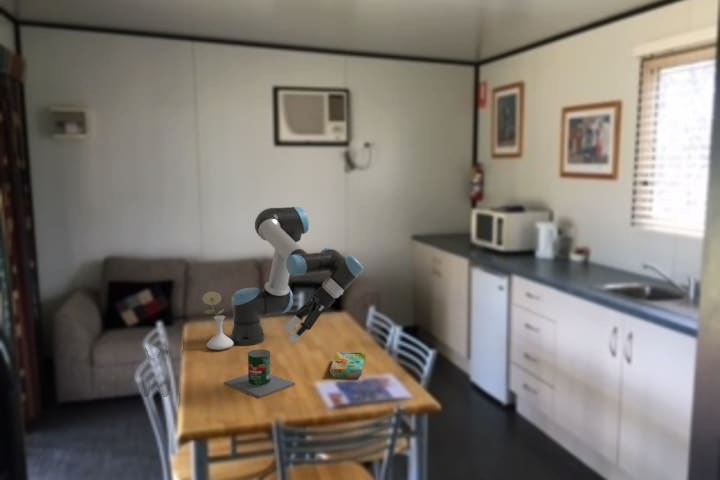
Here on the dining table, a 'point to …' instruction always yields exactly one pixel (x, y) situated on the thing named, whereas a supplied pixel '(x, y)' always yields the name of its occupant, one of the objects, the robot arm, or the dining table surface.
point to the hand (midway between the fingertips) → (288, 335)
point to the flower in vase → (219, 339)
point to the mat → (260, 391)
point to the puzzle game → (347, 364)
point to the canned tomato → (259, 368)
